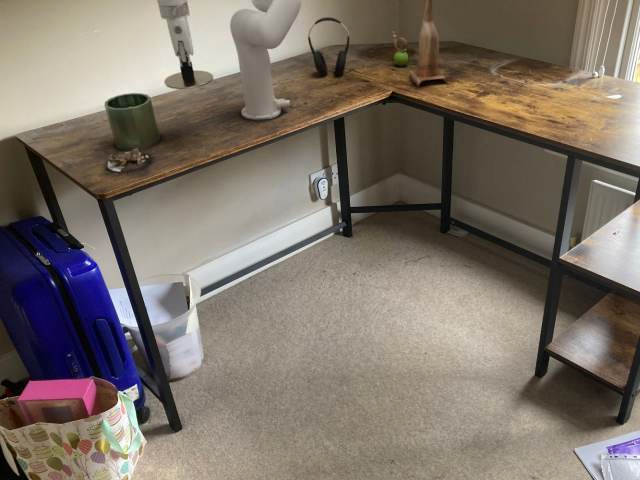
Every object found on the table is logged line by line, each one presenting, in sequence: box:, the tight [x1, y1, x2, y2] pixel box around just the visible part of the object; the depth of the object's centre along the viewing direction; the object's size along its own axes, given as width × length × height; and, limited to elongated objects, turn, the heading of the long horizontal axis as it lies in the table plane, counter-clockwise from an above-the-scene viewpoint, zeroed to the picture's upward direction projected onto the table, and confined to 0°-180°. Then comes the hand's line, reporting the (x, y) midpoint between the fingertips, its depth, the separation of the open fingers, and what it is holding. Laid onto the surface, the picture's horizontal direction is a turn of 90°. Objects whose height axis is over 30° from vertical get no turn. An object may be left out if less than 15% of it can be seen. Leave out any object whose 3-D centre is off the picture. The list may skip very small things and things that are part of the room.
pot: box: [103, 92, 161, 151], centre depth 190 cm, size 13×13×12 cm
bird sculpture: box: [408, 0, 449, 87], centre depth 222 cm, size 11×12×32 cm
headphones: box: [307, 16, 350, 76], centre depth 232 cm, size 9×15×20 cm, turn 91°
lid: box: [163, 70, 214, 90], centre depth 183 cm, size 14×14×6 cm
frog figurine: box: [107, 148, 149, 173], centre depth 181 cm, size 12×12×4 cm
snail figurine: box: [391, 30, 409, 67], centre depth 242 cm, size 5×6×12 cm
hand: (188, 77), depth 184 cm, fingers closed on lid, 2 cm apart
